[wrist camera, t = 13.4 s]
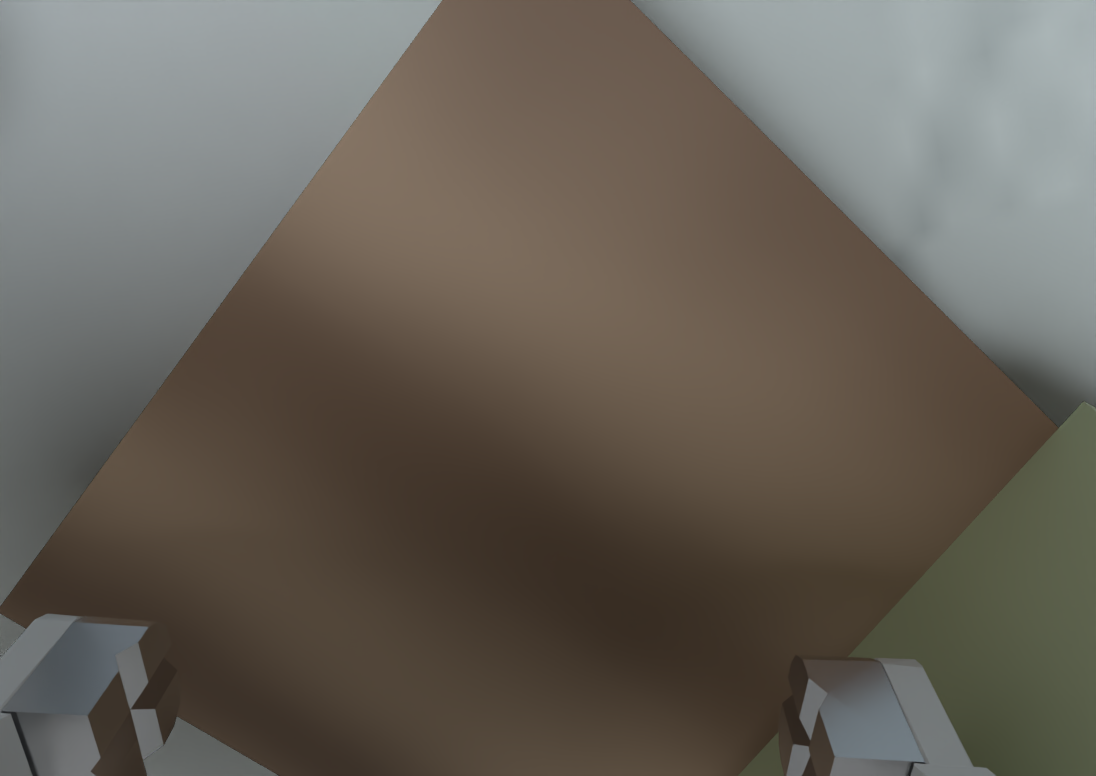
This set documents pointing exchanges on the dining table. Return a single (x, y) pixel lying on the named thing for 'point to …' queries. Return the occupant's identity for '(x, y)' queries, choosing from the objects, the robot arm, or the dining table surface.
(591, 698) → the brown flat block
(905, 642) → the green bar
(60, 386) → the dining table surface
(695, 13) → the dining table surface
